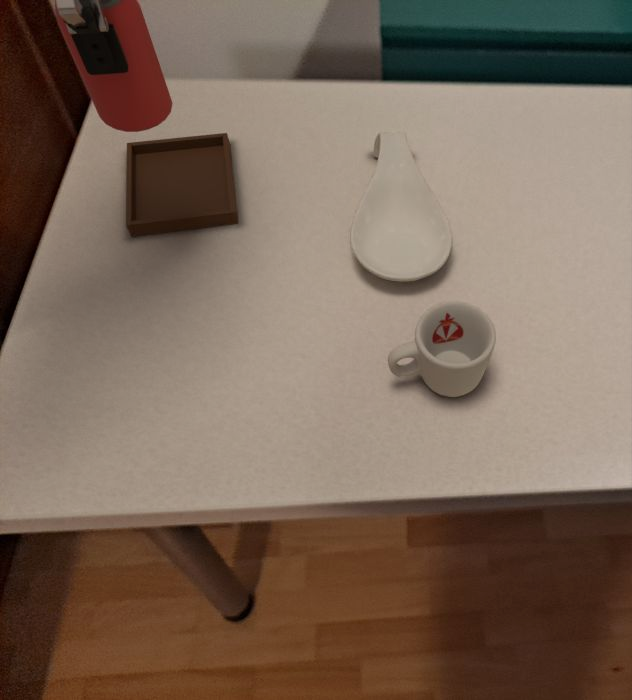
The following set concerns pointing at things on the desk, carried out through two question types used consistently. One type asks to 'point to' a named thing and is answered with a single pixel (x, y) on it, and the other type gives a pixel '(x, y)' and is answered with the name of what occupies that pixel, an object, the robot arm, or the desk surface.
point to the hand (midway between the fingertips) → (110, 43)
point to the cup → (448, 348)
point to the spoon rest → (399, 217)
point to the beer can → (133, 86)
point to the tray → (179, 184)
